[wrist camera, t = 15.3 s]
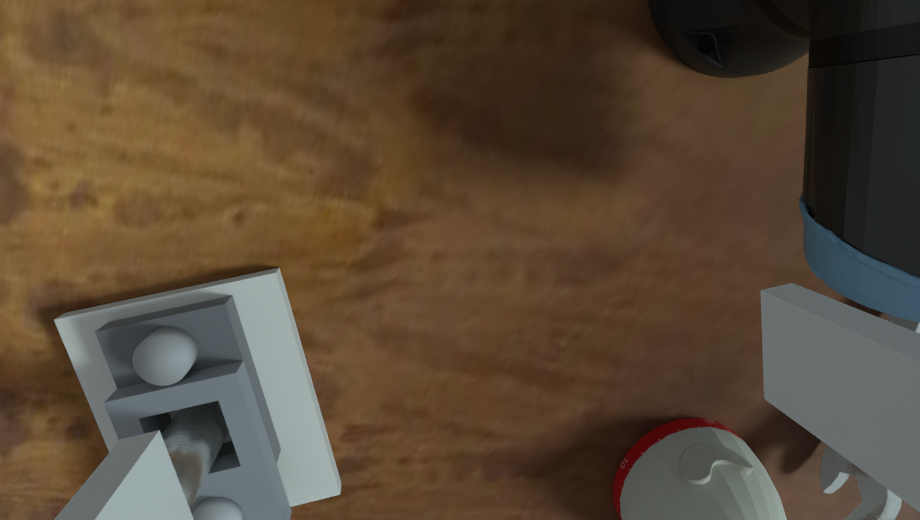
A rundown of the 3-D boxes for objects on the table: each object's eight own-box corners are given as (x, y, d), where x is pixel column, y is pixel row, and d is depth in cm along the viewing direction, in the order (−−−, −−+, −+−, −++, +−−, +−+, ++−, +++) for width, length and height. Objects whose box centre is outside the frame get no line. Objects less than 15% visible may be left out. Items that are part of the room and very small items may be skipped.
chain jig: (65, 312, 41) (7, 347, 34) (279, 267, 42) (261, 293, 36) (154, 529, 46) (118, 593, 40) (341, 483, 47) (335, 538, 41)
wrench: (913, 203, 52) (812, 493, 54) (898, 198, 51) (797, 490, 54) (1011, 207, 44) (888, 545, 47) (994, 201, 44) (871, 542, 46)
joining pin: (174, 397, 42) (75, 528, 28) (226, 385, 42) (153, 509, 29) (190, 441, 43) (103, 587, 29) (241, 429, 43) (177, 568, 30)
